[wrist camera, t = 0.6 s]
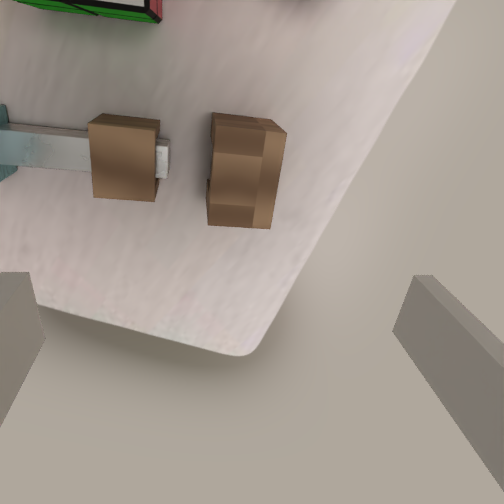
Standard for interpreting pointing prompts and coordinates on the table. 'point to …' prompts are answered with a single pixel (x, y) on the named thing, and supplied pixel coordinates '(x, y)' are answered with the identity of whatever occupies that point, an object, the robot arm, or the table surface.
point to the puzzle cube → (105, 8)
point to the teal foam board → (55, 148)
